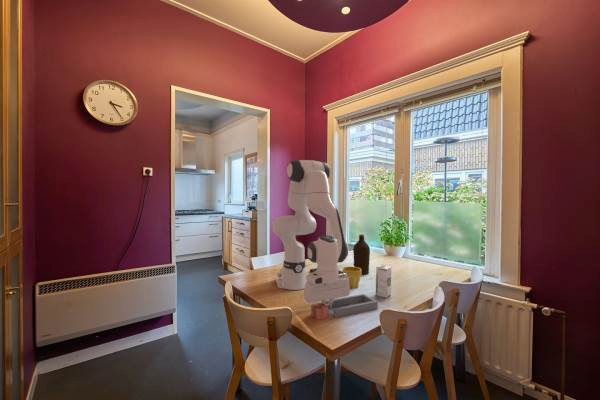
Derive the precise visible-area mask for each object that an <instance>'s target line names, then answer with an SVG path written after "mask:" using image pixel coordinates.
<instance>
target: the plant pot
mask: <svg viewBox="0 0 600 400" xmlns="http://www.w3.org/2000/svg"><path fill="white" fill-rule="evenodd" d="M342 272H343V273H346V274H347V275H348V276H349V286H350V289H357V288H359V284H360V279H361V277H362V275H361V274H362V270H361V268H358V267H354V266H351V265H350V266H344V267H342Z"/></svg>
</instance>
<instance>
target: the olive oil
mask: <svg viewBox="0 0 600 400" xmlns="http://www.w3.org/2000/svg"><path fill="white" fill-rule="evenodd" d="M352 250H353V252H352V254H353V264H352V265H353V267H358V268H361V270H362V274H361V276H363V275H365V276H366V275H369V273H370V257H371V248H370V245H369V244H368V243H367V241H365V234H363V233H362V234H359V235H358V241H357V242H356V243H355V244H354V245H353V249H352Z"/></svg>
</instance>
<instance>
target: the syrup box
mask: <svg viewBox="0 0 600 400" xmlns="http://www.w3.org/2000/svg"><path fill="white" fill-rule="evenodd" d="M375 272H376V275H375V296H377V297H381V298H385V299H387V298H389V296H391V295H392V266H390V265H386V264H385V265H384V264H380V265H378V266H376V269H375Z"/></svg>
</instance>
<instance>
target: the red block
mask: <svg viewBox="0 0 600 400" xmlns="http://www.w3.org/2000/svg"><path fill="white" fill-rule="evenodd" d="M310 315H311V316H312V317H313V318H314V319H315V320H316V321H318V320H323V319H326V318H329V312H328V307H327V306H326V305H324V304H323V303H322V301H320V302H317V303H314V304H311V305H310Z"/></svg>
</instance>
